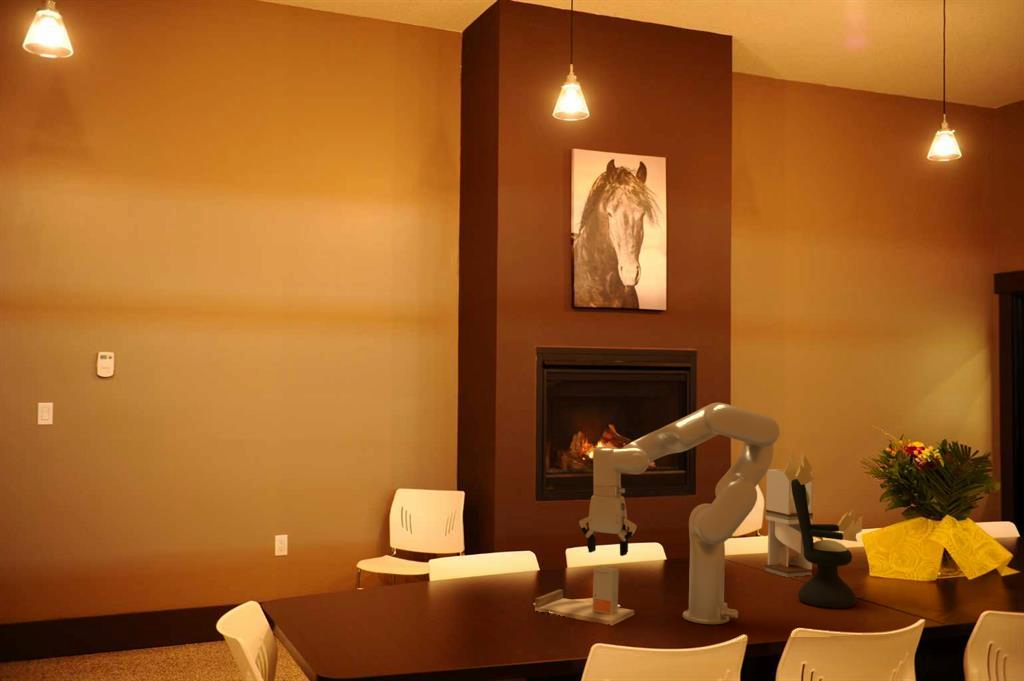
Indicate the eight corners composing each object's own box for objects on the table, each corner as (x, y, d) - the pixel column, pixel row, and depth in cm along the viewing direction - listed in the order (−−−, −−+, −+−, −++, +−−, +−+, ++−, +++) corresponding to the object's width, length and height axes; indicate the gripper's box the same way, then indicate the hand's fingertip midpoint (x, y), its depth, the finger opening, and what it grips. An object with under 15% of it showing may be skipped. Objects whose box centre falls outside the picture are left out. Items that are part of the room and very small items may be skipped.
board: (634, 614, 270) (634, 601, 270) (612, 625, 258) (612, 611, 258) (559, 601, 282) (559, 589, 283) (534, 611, 271) (535, 598, 271)
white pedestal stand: (764, 570, 335) (766, 469, 336) (788, 568, 339) (790, 468, 340) (787, 577, 325) (789, 473, 326) (811, 575, 329) (813, 472, 330)
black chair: (863, 613, 279) (866, 456, 280) (784, 607, 283) (786, 453, 284) (854, 598, 297) (856, 451, 298) (779, 592, 302) (782, 448, 303)
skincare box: (591, 612, 266) (592, 568, 267) (598, 609, 270) (599, 566, 271) (612, 615, 264) (613, 571, 264) (618, 612, 267) (619, 568, 268)
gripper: (641, 491, 267) (641, 554, 266) (585, 488, 276) (586, 548, 275) (629, 495, 260) (630, 558, 260) (573, 491, 269) (573, 552, 269)
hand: (607, 553), depth 267 cm, fingers open, 9 cm apart
